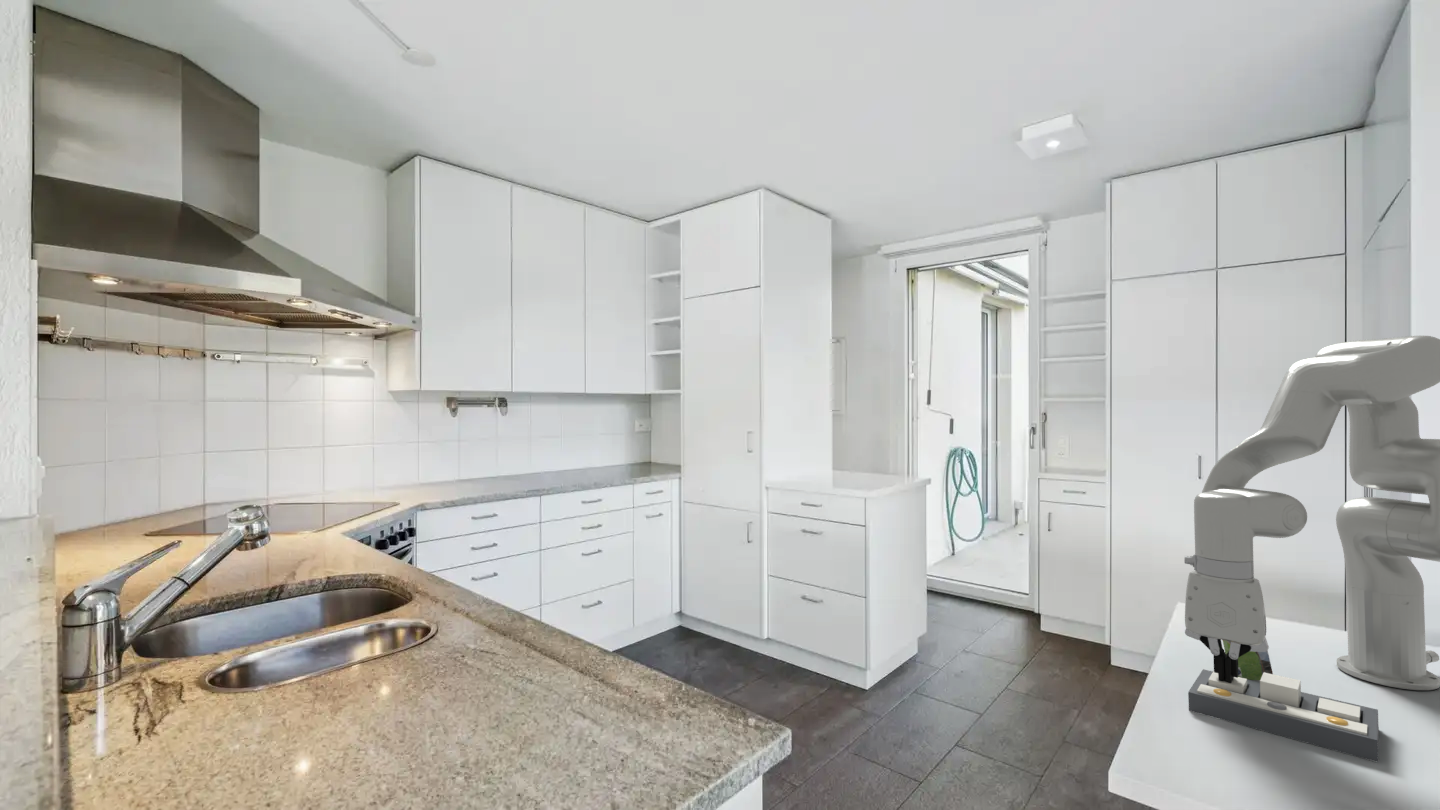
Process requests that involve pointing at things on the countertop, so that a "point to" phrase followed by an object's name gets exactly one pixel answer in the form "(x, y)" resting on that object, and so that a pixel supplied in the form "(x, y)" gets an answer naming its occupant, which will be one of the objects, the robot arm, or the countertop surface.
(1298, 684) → the middle key
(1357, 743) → the board
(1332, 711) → the right key
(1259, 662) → the beverage can
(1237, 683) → the left key
